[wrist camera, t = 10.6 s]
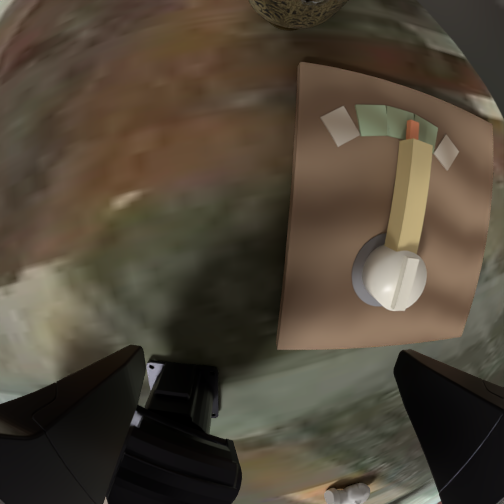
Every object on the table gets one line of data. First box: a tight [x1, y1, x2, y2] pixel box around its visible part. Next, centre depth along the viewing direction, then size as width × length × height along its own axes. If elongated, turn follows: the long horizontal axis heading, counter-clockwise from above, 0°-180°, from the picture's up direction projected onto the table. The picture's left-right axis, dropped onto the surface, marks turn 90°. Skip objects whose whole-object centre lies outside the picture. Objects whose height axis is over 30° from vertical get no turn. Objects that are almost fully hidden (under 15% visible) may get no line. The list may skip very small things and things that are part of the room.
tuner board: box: [276, 62, 493, 350], centre depth 20 cm, size 22×20×1 cm
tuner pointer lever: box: [362, 120, 433, 311], centre depth 18 cm, size 14×4×3 cm, turn 172°
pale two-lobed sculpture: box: [324, 483, 370, 504], centre depth 29 cm, size 4×8×5 cm
